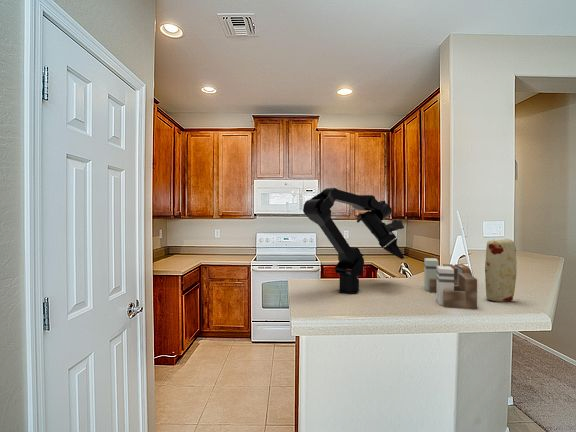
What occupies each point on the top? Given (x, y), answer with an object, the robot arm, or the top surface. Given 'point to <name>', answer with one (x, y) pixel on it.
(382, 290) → the top surface
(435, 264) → the pale green box
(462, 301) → the housing
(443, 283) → the white rectangular block
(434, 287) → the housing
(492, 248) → the food model
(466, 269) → the tin
